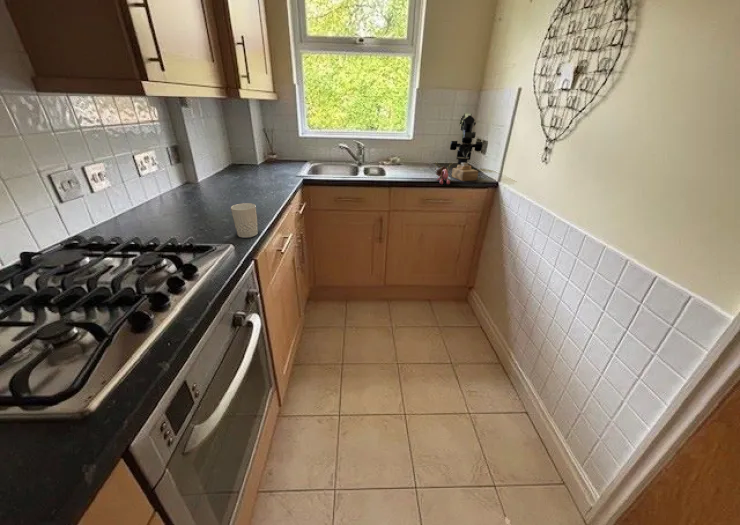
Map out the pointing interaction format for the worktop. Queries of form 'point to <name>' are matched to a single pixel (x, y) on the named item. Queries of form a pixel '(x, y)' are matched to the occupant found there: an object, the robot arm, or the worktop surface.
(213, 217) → the worktop surface
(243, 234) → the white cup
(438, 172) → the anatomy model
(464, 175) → the tan stepped block
